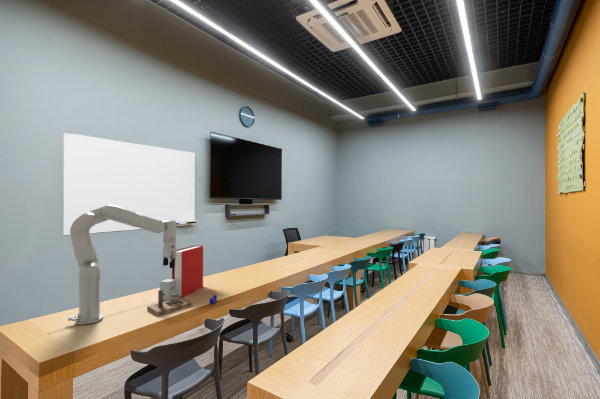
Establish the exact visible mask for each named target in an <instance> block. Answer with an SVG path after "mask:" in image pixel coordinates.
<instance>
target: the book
mask: <svg viewBox="0 0 600 399" xmlns="http://www.w3.org/2000/svg"><path fill="white" fill-rule="evenodd" d="M171 279H175V293H178V294H179V297H180V298H184V297H186V296H188V295H190V294H192V293H195V292H196V291H198V290H200V289H202V288H204V245H199V244H198V245H197V244H195V245H191V246H190V245H189V246H187V247H183V248H178V249H176V259H175V268H171Z"/></svg>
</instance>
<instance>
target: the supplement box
mask: <svg viewBox="0 0 600 399" xmlns="http://www.w3.org/2000/svg"><path fill="white" fill-rule="evenodd" d="M159 290H163V293H165V295H163V301H164V302H166V301H170V300H171V294H174V293H175V279H172V278H166V279H164V280H161V281H159Z"/></svg>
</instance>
